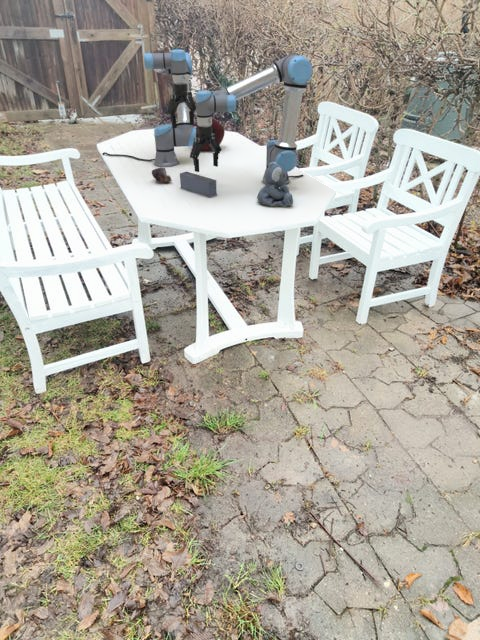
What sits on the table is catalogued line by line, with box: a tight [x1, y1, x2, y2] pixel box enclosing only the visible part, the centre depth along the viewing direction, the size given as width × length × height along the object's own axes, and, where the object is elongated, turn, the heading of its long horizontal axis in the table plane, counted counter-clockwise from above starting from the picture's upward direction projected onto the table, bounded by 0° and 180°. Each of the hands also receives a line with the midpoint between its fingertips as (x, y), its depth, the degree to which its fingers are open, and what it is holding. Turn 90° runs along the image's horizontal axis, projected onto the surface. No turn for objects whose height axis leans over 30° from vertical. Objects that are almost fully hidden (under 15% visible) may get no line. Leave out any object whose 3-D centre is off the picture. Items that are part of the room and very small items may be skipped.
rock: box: [151, 166, 172, 183], centre depth 260 cm, size 12×9×10 cm
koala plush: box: [256, 162, 294, 208], centre depth 228 cm, size 17×18×20 cm
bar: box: [179, 171, 218, 198], centre depth 246 cm, size 24×5×8 cm, turn 47°
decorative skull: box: [194, 118, 225, 151], centre depth 320 cm, size 21×24×25 cm
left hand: (183, 125), depth 252 cm, fingers open, 13 cm apart
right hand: (206, 168), depth 236 cm, fingers open, 13 cm apart
